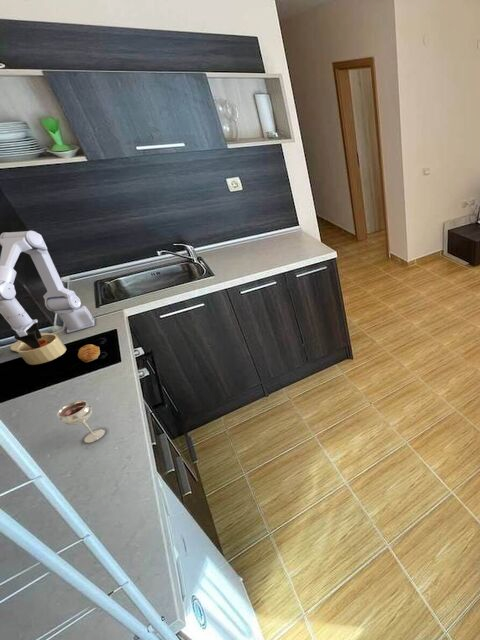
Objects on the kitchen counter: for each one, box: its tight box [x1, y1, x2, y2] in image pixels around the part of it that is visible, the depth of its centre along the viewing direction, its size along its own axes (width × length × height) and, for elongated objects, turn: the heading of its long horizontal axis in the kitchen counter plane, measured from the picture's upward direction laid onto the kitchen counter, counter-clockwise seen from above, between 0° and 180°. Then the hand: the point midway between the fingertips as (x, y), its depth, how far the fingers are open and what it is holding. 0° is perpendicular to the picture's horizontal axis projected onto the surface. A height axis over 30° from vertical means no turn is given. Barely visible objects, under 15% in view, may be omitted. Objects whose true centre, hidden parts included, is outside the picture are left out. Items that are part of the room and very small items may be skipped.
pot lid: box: [9, 332, 51, 353], centre depth 146 cm, size 13×13×4 cm
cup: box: [28, 340, 49, 350], centre depth 139 cm, size 5×6×6 cm
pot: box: [15, 333, 67, 366], centre depth 139 cm, size 12×12×6 cm
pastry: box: [77, 343, 101, 364], centre depth 138 cm, size 9×7×4 cm
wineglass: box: [56, 399, 106, 444], centre depth 103 cm, size 7×7×12 cm
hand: (37, 343), depth 137 cm, fingers open, 7 cm apart
